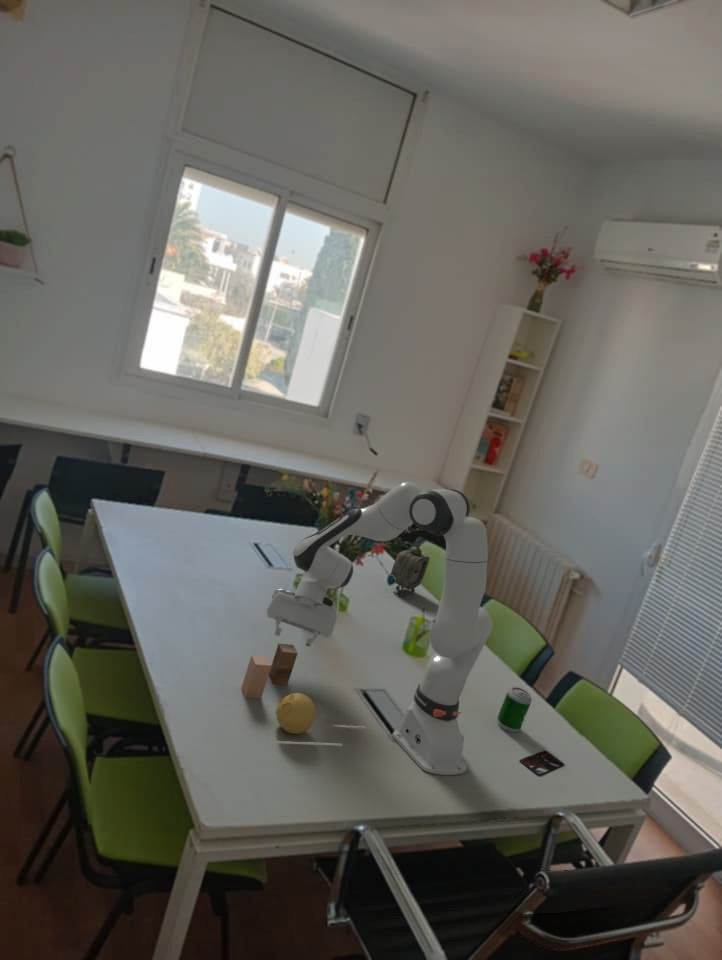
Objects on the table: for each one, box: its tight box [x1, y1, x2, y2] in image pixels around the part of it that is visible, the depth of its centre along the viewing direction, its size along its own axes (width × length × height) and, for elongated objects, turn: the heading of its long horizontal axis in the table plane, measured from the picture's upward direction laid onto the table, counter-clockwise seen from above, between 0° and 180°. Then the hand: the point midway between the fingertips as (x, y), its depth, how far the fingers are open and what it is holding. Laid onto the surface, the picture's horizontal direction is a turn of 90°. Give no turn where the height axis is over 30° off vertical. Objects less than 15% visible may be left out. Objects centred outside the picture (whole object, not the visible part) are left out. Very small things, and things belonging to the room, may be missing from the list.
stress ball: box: [275, 692, 316, 735], centre depth 188 cm, size 10×10×10 cm
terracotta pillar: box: [241, 655, 272, 700], centre depth 198 cm, size 4×4×10 cm
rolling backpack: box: [390, 537, 430, 597], centre depth 310 cm, size 14×9×25 cm, turn 148°
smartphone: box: [519, 749, 565, 777], centre depth 212 cm, size 7×1×15 cm
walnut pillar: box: [268, 643, 299, 685], centre depth 209 cm, size 4×4×10 cm
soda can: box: [496, 686, 533, 733], centre depth 226 cm, size 8×8×12 cm
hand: (292, 640), depth 213 cm, fingers open, 8 cm apart
